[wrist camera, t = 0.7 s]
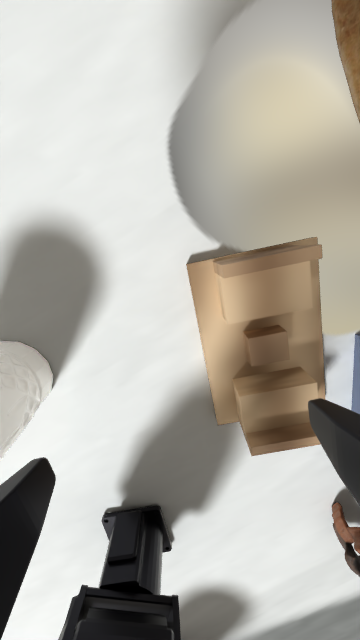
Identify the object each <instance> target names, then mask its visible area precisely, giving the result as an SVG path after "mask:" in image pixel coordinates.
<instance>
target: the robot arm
mask: <svg viewBox="0 0 360 640" xmlns="http://www.w3.org/2000/svg"><path fill="white" fill-rule="evenodd" d="M308 411H309V419H310V424H311V427H312V429H313V431H314V433H315V435H316V436H317V438H318V440H319V442H320V443H321V445H322V447H323V449H324V451H325V452H326V454H327V456H328V458H329V459H330V461H331V463H332V465H333V466H334V468H335V470H336V472H337V473H338V475H339V477H340V478H341V480H342V481H343V483H344V484H345V485H346V487H347V488H348V490H349V491H350V493H351V494H352V495H353V497H354V498H355V500H356V501H357V503H358V504H359V505H360V414H358V413H356V412H354V411H351V410H349V409H346V408H344V407H342V406H339V405H337V404H334V403H332V402H330V401H327V400H325V399H322V398H318V399H314V400H310V401H309V402H308ZM55 480H56V478H55V474H54V472H53V470H52V467H51V465H50V463H49V461H48V459H46V458H44V457H43V458H38V459H34V460H32V461H30V462H29V463H28V464H27V465H25V466H24V467H23V468H22V469H20V470H19V471H18V472H17V473H15V474H14V475H13V476H11V477H10V478H9V479H8V480H6V481H5V482H4V483H3V484H1V485H0V640H1V638H2V635H3V632H4V630H5V627H6V624H7V622H8V619H9V616H10V614H11V611H12V609H13V606H14V603H15V601H16V598H17V595H18V593H19V590H20V587H21V585H22V582H23V579H24V577H25V574H26V571H27V569H28V566H29V563H30V561H31V558H32V555H33V553H34V550H35V547H36V545H37V542H38V539H39V536H40V533H41V530H42V527H43V524H44V520H45V517H46V513H47V510H48V506H49V503H50V499H51V496H52V493H53V489H54V486H55ZM102 524H103V526H104V529H105V531H106V534H107V536H108V539H109V545H108V550H107V554H106V558H105V562H104V567H103V571H102V575H101V580H100V584H99V588H93V587H88V585H82V586H81V589H80V592H79V595H77V596H75V597H73V598H72V601H71V604H70V608H69V611H68V614H67V618H66V621H65V624H64V627H63V629H62V632H61V634H60V637H59V639H58V640H181V636H180V619H179V603H178V595H172V596H166V595H160V588H161V569H162V552H169V551H171V549H172V543H171V540H170V537H169V534H168V530H167V527H166V524H165V521H164V517H163V514H162V511H161V508H160V507H159V506H151V507H145V508H139V509H133V510H127V511H121V512H115V513H109V514H104V515H103V517H102Z"/></svg>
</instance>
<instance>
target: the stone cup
mask: <svg viewBox="0 0 360 640" xmlns="http://www.w3.org/2000/svg"><path fill="white" fill-rule="evenodd" d="M332 13H333V19H334V26H335V32H336V40H337V45H338V49H339V54H340V58H341V61H342V65H343V68H344V71H345V75H346V79H347V82H348V86H349V89H350V93H351V97H352V100H353V104H354V107H355V110H356V113H357V116H358V119H359V122H360V0H332Z"/></svg>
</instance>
